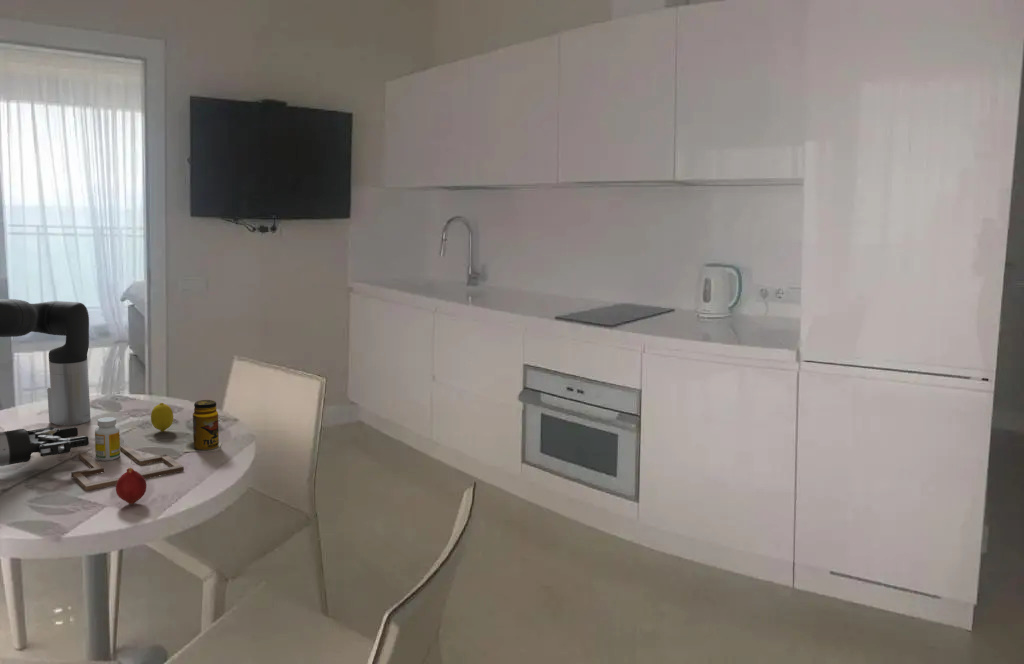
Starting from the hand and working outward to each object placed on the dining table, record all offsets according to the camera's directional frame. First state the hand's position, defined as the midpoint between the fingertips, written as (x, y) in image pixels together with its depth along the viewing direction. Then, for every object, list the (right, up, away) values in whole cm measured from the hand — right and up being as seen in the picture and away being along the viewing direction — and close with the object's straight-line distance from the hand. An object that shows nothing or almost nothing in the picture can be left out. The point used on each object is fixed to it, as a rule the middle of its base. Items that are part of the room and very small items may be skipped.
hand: (82, 435), depth 192 cm
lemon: (+8, -2, +26) cm, 27 cm away
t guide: (+9, -7, -1) cm, 11 cm away
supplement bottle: (+4, -6, +5) cm, 9 cm away
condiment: (+23, -5, +15) cm, 28 cm away
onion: (+22, -12, -22) cm, 33 cm away
